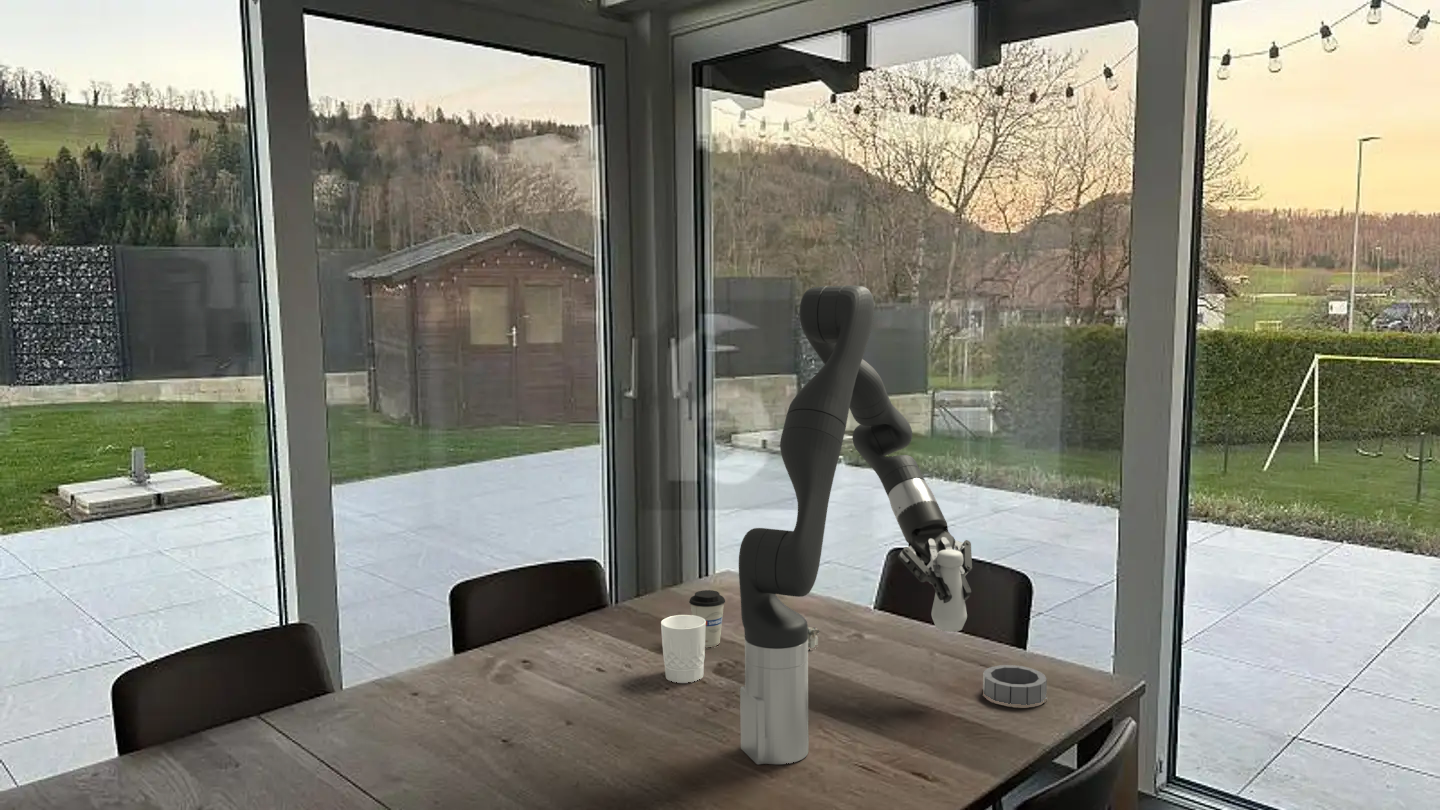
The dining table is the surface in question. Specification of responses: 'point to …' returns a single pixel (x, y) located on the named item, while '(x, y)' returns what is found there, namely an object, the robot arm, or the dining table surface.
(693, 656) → the white cup
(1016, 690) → the bowl
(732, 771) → the dining table surface
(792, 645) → the robot arm
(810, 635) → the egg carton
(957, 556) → the salt shaker
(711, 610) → the coffee cup
